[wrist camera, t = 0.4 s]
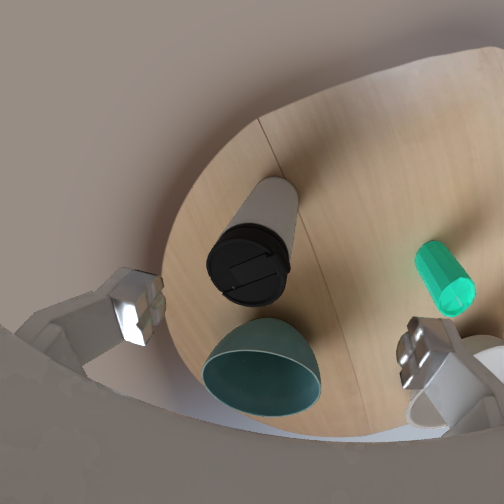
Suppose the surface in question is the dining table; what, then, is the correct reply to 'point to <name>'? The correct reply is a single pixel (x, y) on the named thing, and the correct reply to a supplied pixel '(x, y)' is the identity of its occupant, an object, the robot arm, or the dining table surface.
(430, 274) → the candle
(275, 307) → the dining table surface
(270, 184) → the travel mug
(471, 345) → the bowl
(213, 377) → the deep teal bowl
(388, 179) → the dining table surface
